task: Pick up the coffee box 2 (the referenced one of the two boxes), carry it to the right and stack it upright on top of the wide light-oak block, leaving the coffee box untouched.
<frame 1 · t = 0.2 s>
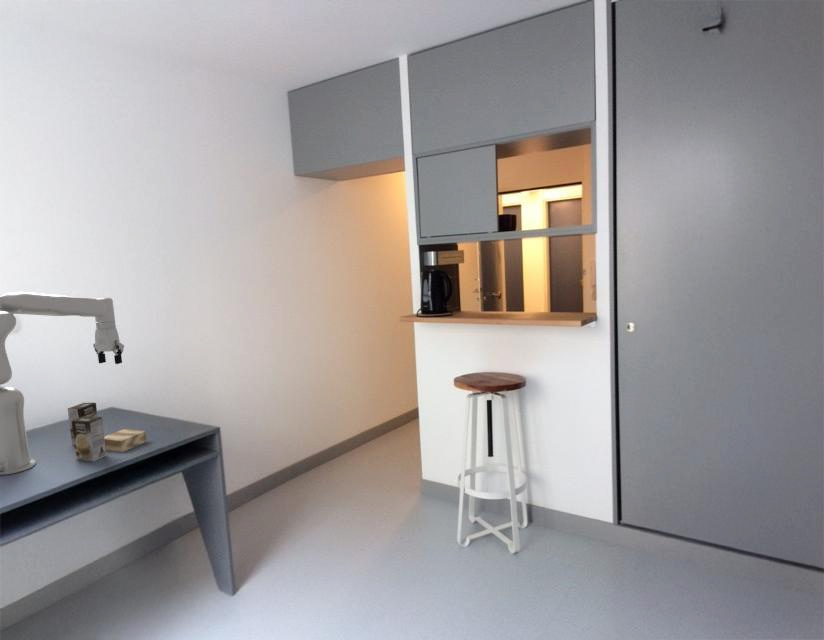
hand: (110, 363, 238), 31 cm above the table, fingers open, 9 cm apart
oak block: (124, 446, 221), on the table
coffee box: (86, 441, 228), on the table
coffee box 2: (91, 458, 209), on the table
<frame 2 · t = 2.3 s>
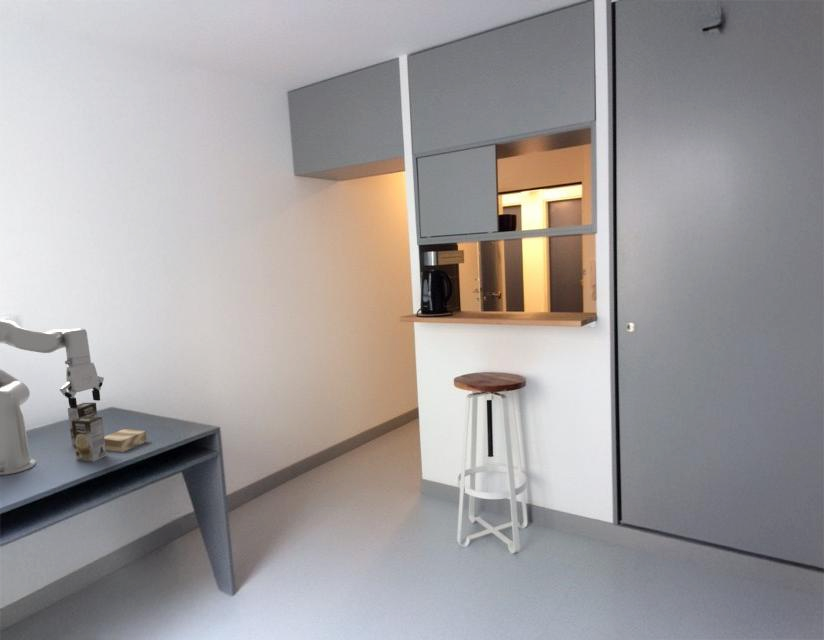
hand: (85, 403, 206), 22 cm above the table, fingers open, 9 cm apart
nothing on the table moved.
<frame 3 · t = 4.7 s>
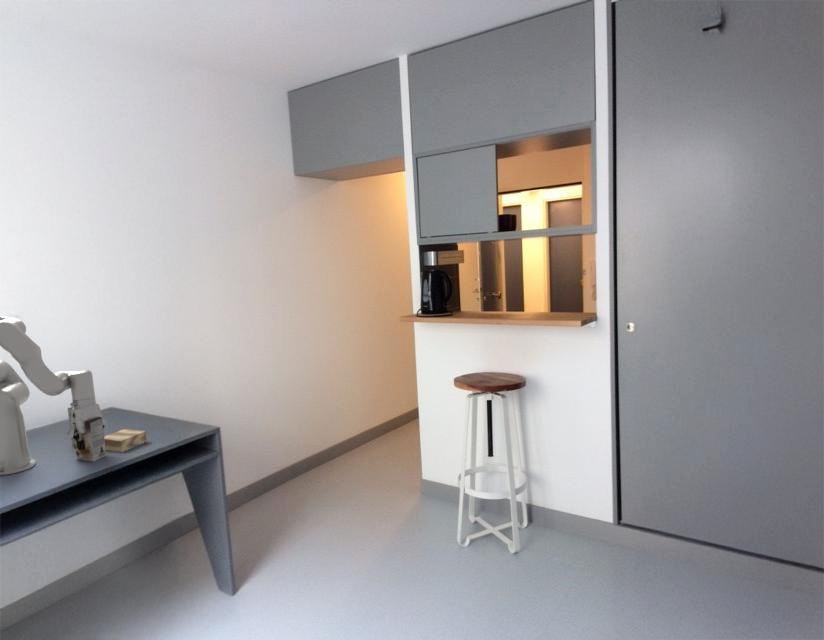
hand: (90, 445, 208), 5 cm above the table, fingers closed on coffee box 2, 6 cm apart
coffee box 2: (91, 458, 209), on the table, touching gripper
everything else where it was.
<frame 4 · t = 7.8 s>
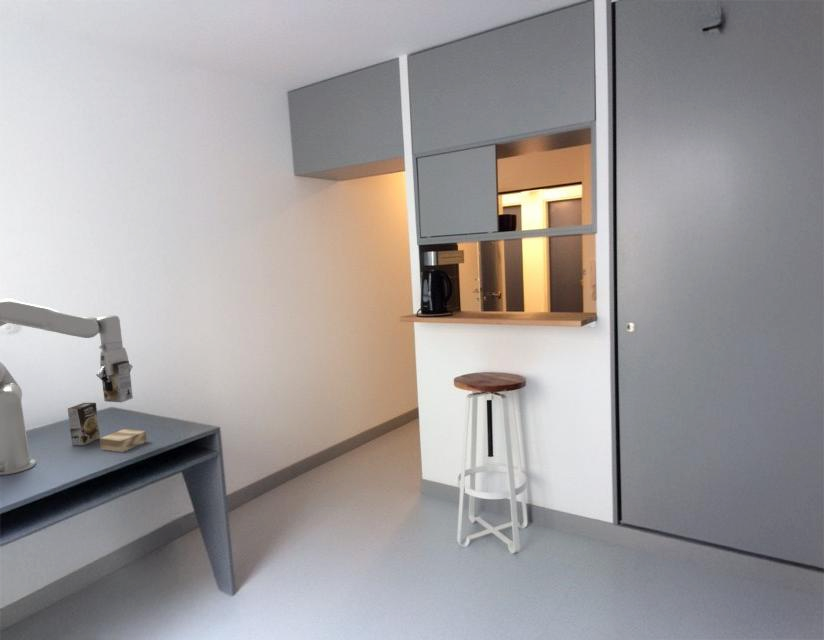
hand: (117, 388, 218), 24 cm above the table, fingers closed on coffee box 2, 6 cm apart
coffee box 2: (118, 400, 219), point 19 cm above the table, touching gripper
everything else where it was.
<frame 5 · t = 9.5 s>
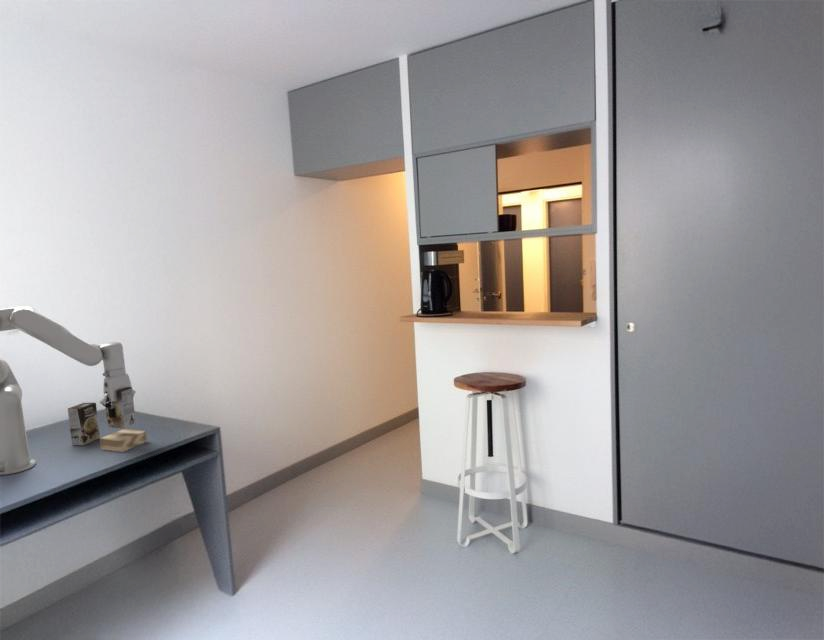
hand: (120, 414, 220), 13 cm above the table, fingers closed on coffee box 2, 6 cm apart
coffee box 2: (122, 426, 220), point 8 cm above the table, touching gripper
everything else where it was.
when the fingers open (11 cm above the table, at t = 11.0 s): coffee box 2 drops 2 cm, point 5 cm above the table.
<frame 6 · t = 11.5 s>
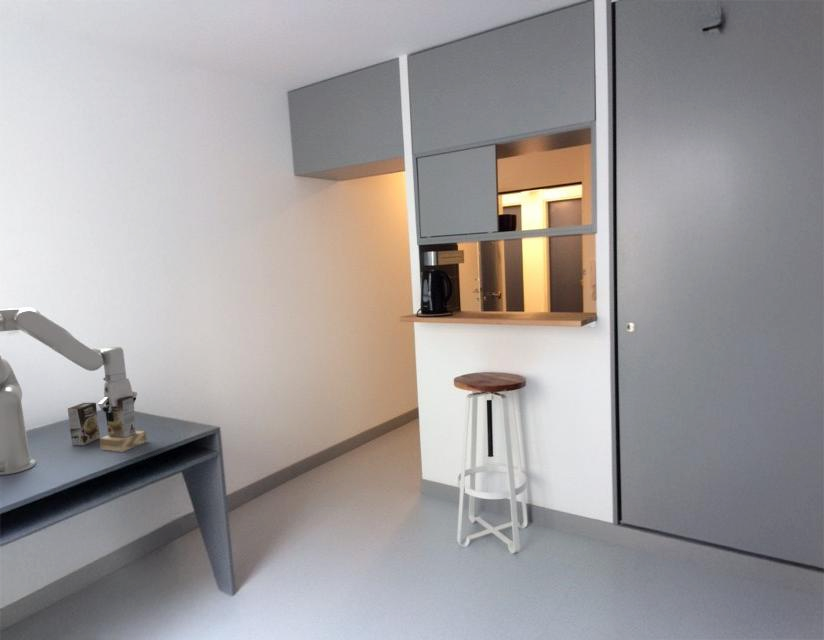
hand: (120, 417, 220), 12 cm above the table, fingers open, 9 cm apart
coffee box 2: (122, 435, 221), point 5 cm above the table
everything else where it was.
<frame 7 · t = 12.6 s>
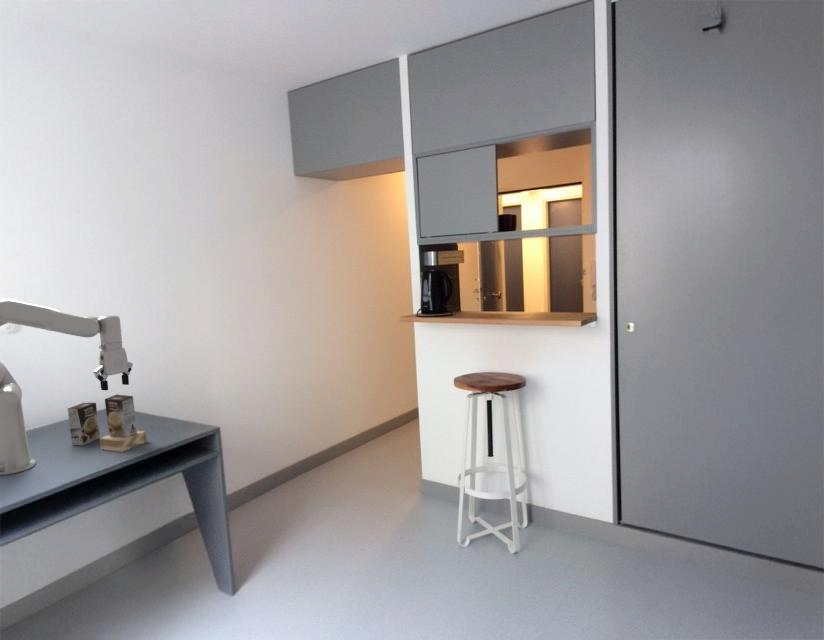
hand: (115, 387, 218), 25 cm above the table, fingers open, 9 cm apart
oak block: (124, 446, 222), on the table, touching coffee box 2
coffee box 2: (123, 434, 221), point 4 cm above the table, touching oak block
everything else where it was.
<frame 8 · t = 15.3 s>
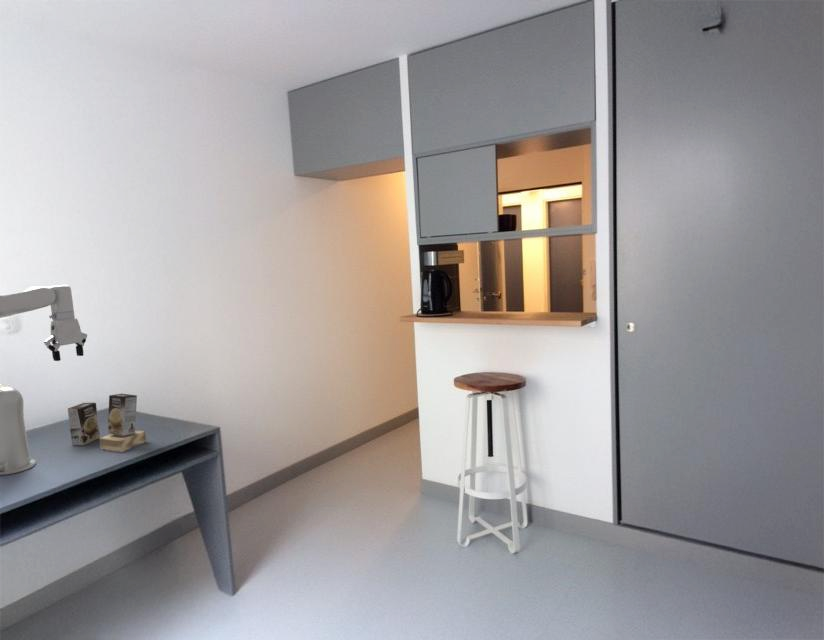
hand: (68, 358, 214), 38 cm above the table, fingers open, 9 cm apart
at the end: coffee box 2 inside the target area on the oak block (0.3 cm from its centre), point 5.4 cm above the oak block's base; coffee box 2 tilted 10°; the gripper is holding nothing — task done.
